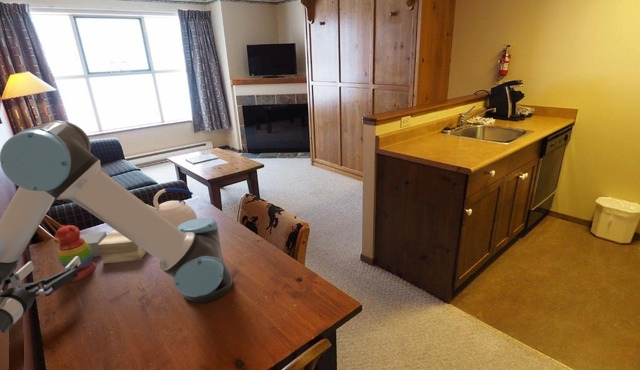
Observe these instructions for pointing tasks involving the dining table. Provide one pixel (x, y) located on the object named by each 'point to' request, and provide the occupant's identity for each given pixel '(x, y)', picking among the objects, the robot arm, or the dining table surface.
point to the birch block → (119, 248)
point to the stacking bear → (74, 250)
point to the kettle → (174, 208)
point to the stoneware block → (94, 241)
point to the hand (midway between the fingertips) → (55, 262)
